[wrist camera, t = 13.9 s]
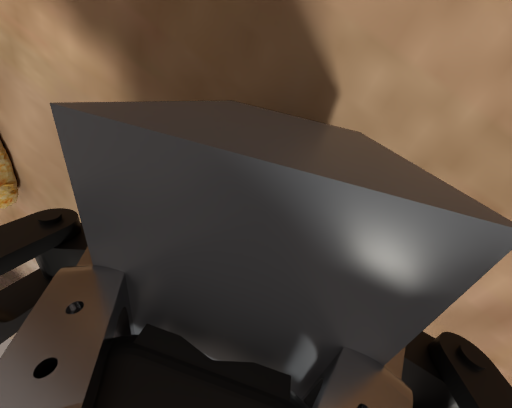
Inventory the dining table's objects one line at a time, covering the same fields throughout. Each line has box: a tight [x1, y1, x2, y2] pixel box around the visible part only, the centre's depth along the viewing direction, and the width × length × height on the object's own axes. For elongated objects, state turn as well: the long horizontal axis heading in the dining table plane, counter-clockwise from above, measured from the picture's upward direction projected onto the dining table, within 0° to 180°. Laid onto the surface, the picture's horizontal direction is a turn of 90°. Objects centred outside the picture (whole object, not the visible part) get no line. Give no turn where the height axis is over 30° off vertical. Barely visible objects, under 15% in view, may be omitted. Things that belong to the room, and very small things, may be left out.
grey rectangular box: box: [50, 101, 512, 399], centre depth 9 cm, size 6×10×8 cm, turn 168°
